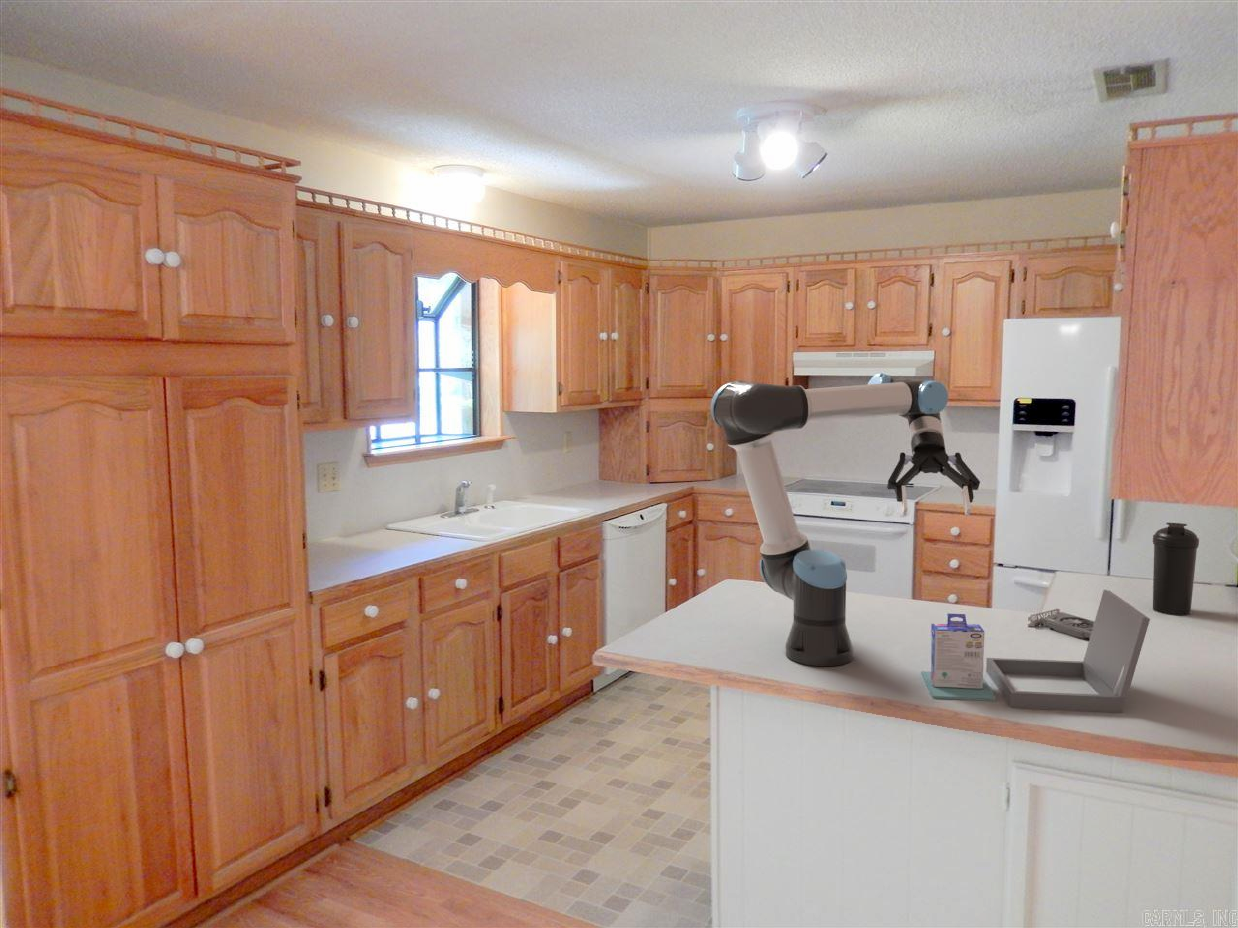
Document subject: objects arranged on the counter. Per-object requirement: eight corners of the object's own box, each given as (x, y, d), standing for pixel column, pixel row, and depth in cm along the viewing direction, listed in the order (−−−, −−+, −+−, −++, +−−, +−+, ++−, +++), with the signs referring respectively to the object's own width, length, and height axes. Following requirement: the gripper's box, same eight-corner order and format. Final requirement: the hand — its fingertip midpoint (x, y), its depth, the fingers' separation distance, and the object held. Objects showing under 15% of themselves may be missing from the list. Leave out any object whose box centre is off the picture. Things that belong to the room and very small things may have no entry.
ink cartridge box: (978, 680, 185) (980, 612, 183) (984, 690, 179) (986, 620, 178) (928, 678, 187) (930, 611, 185) (933, 687, 181) (935, 619, 179)
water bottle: (1194, 608, 234) (1199, 523, 231) (1194, 618, 226) (1200, 529, 223) (1149, 603, 240) (1154, 519, 237) (1148, 612, 231) (1153, 526, 228)
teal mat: (932, 698, 177) (932, 695, 177) (921, 673, 191) (921, 671, 191) (996, 700, 175) (996, 698, 175) (979, 675, 189) (979, 673, 189)
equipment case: (1010, 707, 172) (1014, 613, 169) (986, 671, 191) (989, 586, 189) (1144, 713, 168) (1150, 617, 165) (1105, 675, 187) (1109, 589, 185)
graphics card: (1024, 614, 222) (1057, 606, 227) (1023, 628, 222) (1056, 620, 228) (1085, 633, 207) (1118, 624, 212) (1084, 648, 207) (1118, 639, 213)
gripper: (979, 449, 214) (991, 522, 201) (872, 449, 218) (877, 521, 205) (984, 429, 208) (998, 503, 195) (874, 430, 212) (880, 502, 199)
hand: (936, 512), depth 200 cm, fingers open, 13 cm apart
